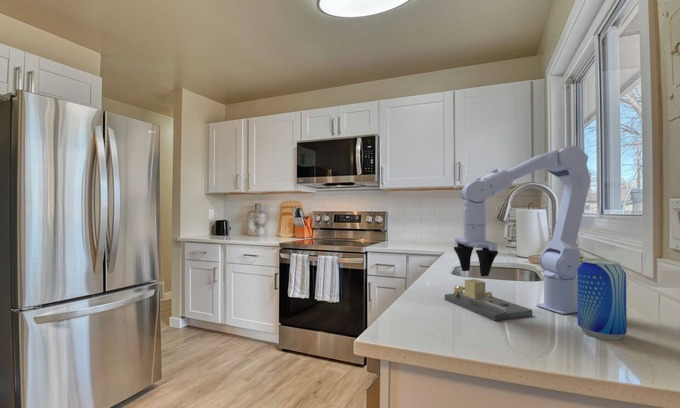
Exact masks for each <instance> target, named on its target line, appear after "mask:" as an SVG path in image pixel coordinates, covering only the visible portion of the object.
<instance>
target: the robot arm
mask: <svg viewBox="0 0 680 408" xmlns="http://www.w3.org/2000/svg"><path fill="white" fill-rule="evenodd" d="M588 159H589V156H588V155H587V153H585V151H584V150H583V149H582V148H581V147H579V146H577V145H567V146H565V147H563V148H559V149H555V150H552V151H549V152H545V153H542V154H539V155H536V156H533V157H531V158H529V159H528V160H525V161H524V162H522V163H519V164H518V165H516V166H514V167H512V168H510V169H504V168H499V169H498V168H494V169H493V170H491V173H488V174H487V175H485V176H482V177H479V176H478V177H476V178H475V180H474V181H473V182H469V183H466V184H465V185H464V186H463V188H462V190H461V192H460V196H461V199H462V200H463V237H459V238H458V237H456V238H455V239H454V243H455V244H454V245H455V246H453V250H454V252H455V253H456V255H457V258H458V260H459V264H460V268H461V271H462V272H470V271H471V270H470V269H471V259H472V255H473V250H474V249H475V248H476V249H475V253H476V255H477V258H478V263H479V274H480V276H481V277H489V276H490V273H491V268H492V266H493V263H494V260H495V258H496V257H497V256H498V254H499V251H498V242H493V241H490V240H487V229H486V228H487V226H486V225H487V224H486V223H487V221H486V217H487V216H486V214H487V213H486V212H487V211H486V209H487V208H486V200H488V199H489V197H492V196H494V195H496V194H499V193H501V192H503V191H505V190H507V189H509V188H511V187H512V186H513V183H514V181H515V180H517V179H519V178H522V177H525V176H527V175H530V174H531V173H533V172H535V171H545V170H546V171H547V172H548V173H549V174H551V175H552V176H555V177H556V178H557V179H559V180H560V181H561V182H562V184H564V188H563V193H562V196H561V201H560V204H559V209H558V213H557V217H556V221H555V226H554V230H553V234H552V239H551V240H549V242H547V243H546V244H545V248H544V250H543V252H542V253H541V254H540V255H539V258H538V262H539V267H540V268H542V270H543V302H542V303H536V305H535V306H537V307H538V308H541V309H546V310H547V311H548V310H549V311H552V312H555V313H557V314H560V315H566V314H574V313H578V277H577V270H578V268H579V267H580V265H581V264H582V263H581V259H580V257H581V253H582V252H581V250H580V249H579V247H578V246H577V240H578V235H579V232H580V226H581V223H582V218H583V214H584V210H585V206H586V202H587V198H588V192H589V189H590V185H591V176H590V172H589V169H588V168H589V167H588Z"/></svg>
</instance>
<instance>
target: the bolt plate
mask: <svg viewBox="0 0 680 408" xmlns="http://www.w3.org/2000/svg"><path fill="white" fill-rule="evenodd" d="M453 289H454V290H453V293H445V294H444V300H445V301H447V302H449V303H452V304H454V305H456V306H459V307H461V308H463V309H466V310H468V311H471V312H473V313H476V314H477V315H480V316H482V317H485V318H487V319H490V320H492V321H493V322H499V321H505V320H512V319H518V318H520V319H521V318H526V317H527V318H528V317H532V316H533V310H532V309H531V308H528V307H524V306H521V305H520V304H519V305H518V304H516V303H514V302H510V301H507V300H504V299H500V298H497V297H495V296H492V299H490V298H489V295H485V298H482V299H473V298H470V297H467V296H465V292H464V291H465V286H461V285H455V286H454V287H453Z"/></svg>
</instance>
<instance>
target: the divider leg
mask: <svg viewBox="0 0 680 408" xmlns="http://www.w3.org/2000/svg"><path fill="white" fill-rule="evenodd" d="M464 287H465V290H464V293H465V296H467V297H470V298H473V299H482V298H485V295H489V298H490V299H492V297H493V292H491V291H486V282H485V281H483V280H478V279H475V278H474V279H464Z"/></svg>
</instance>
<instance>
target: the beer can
mask: <svg viewBox="0 0 680 408" xmlns="http://www.w3.org/2000/svg"><path fill="white" fill-rule="evenodd" d="M576 277H578V312H577V326H579V328H580V329H581V332H583V333H584V334H585V335H588V336H590V337H593V338H597V339H602V340H609V341H618V340H622V339H623V338H624V336H625V335H626V334H627V333H628V332H627V331H628V329H627V328H628V327H627V325H628V324H627V320H628V319H627V316H628V314H627V273H626V272H625V269H623V268H622V266H621V262H620V261H617V260H610V259H603V258H602V259H601V258H583V259H582V263H581V265H580V267H579V268H578V270H577V276H576Z"/></svg>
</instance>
